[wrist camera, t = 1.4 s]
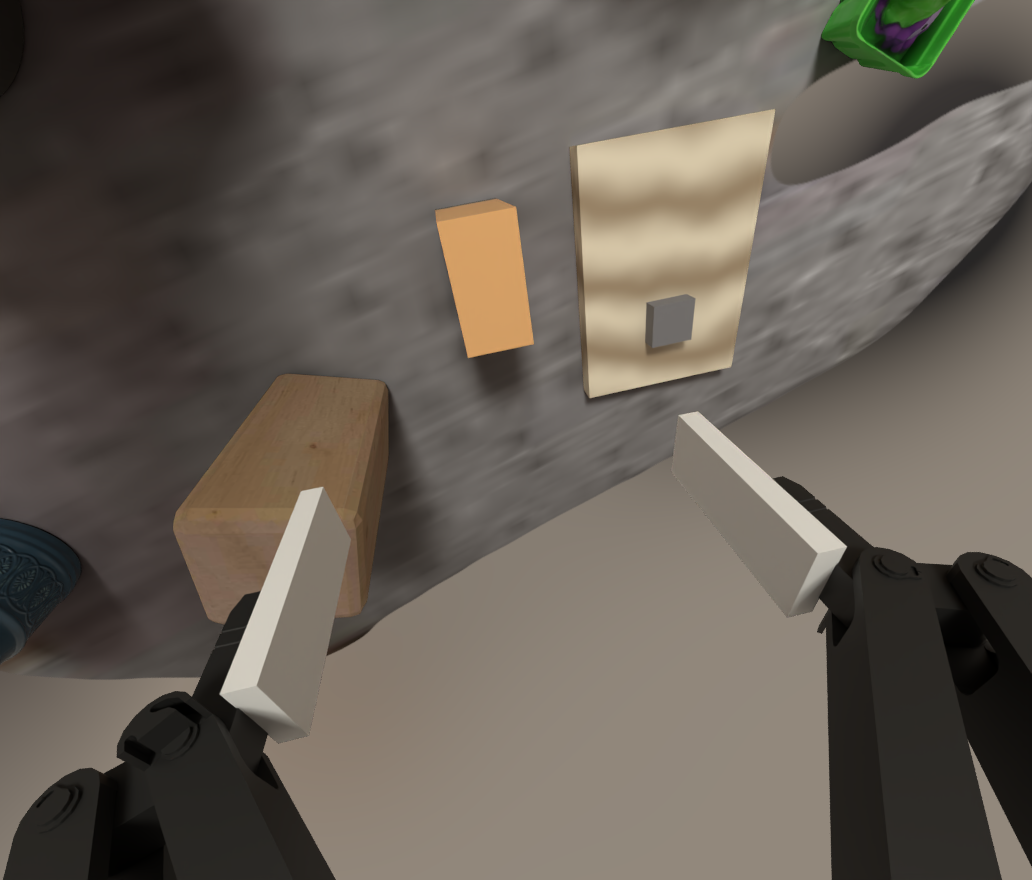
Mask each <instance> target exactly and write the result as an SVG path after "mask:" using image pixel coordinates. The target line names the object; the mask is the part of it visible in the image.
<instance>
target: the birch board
mask: <svg viewBox="0 0 1032 880" xmlns="http://www.w3.org/2000/svg"><path fill="white" fill-rule="evenodd" d="M774 114H775V109H773V110H768V111H762V112H757V113H751V114H746V115H740V116H735V117H729V118H724V119H719V120H713V121H708V122H702V123H697V124H691V125H686V126H681V127H675V128H670V129H664V130H659V131H653V132H648V133H642V134H637V135H632V136H626V137H621V138H615V139H610V140H604V141H599V142H594V143H588V144H583V145H577V146H572V147H569V148H570V164H571V181H572V198H573V215H574V232H575V249H576V265H577V282H578V299H579V316H580V333H581V350H582V366H583V383H584V391H585V392H586V394H587V395H588V396H589V398H593V397H597V396H602V395H606V394H611V393H615V392H620V391H624V390H629V389H633V388H638V387H643V386H647V385H652V384H656V383H661V382H665V381H670V380H674V379H679V378H683V377H688V376H692V375H697V374H701V373H706V372H710V371H715V370H719V369H724V368H728V367H731V365H732V359H733V353H734V347H735V341H736V336H737V330H738V324H739V318H740V312H741V306H742V301H743V295H744V289H745V283H746V277H747V272H748V266H749V260H750V254H751V248H752V242H753V237H754V231H755V225H756V219H757V213H758V208H759V202H760V196H761V190H762V184H763V178H764V173H765V167H766V161H767V155H768V149H769V144H770V138H771V132H772V126H773V120H774ZM684 294H688V295H690V296H692V297H694V298H696V299H695V309H694V318H693V328H692V337H691V340H687V341H682V342H678V343H673V344H669V345H664V346H659V347H655V348H652V347H650V346H649V345H648V344H647V343H645V330H646V302H651V301H656V300H660V299H665V298H670V297H675V296H679V295H684Z"/></svg>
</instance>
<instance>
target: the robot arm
mask: <svg viewBox="0 0 1032 880" xmlns="http://www.w3.org/2000/svg"><path fill="white" fill-rule="evenodd" d="M23 39H24V32H23V19H22V11H21V6H20V1H19V0H0V96H1V95H2V94H3V93H4V92H5V91H6V90H7V89H8V87H9V86H10V84H11V83H12V81H13V80H14V78H15V76H16V74H17V71H18V68H19V66H20V62H21V58H22V51H23ZM671 472H672V474H673V475H674V476H675V477H676V479H677V480H678V481H679V482H680V484H681V485H682V486H683V487H684V489H685V490H686V491H687V493H688V494H689V495H690V496H691V498H692V499H693V500H694V501H695V503H696V504H697V505H698V506H699V508H700V509H701V510H702V511H703V513H704V514H705V515H706V516H707V518H708V519H709V520H710V521H711V523H712V524H713V525H714V526H715V528H716V529H717V530H718V531H719V533H720V534H721V535H722V537H723V538H724V539H725V540H726V542H727V543H728V544H729V545H730V547H731V548H732V549H733V550H734V552H735V553H736V554H737V555H738V557H739V558H740V559H741V560H742V562H743V563H744V564H745V565H746V567H747V568H748V569H749V570H750V572H751V573H752V574H753V575H754V577H755V578H756V579H757V581H758V582H759V583H760V584H761V586H762V587H763V588H764V589H765V591H766V592H767V593H768V594H769V596H770V597H771V598H772V599H773V601H774V602H775V603H776V604H777V605H778V607H779V608H780V609H781V611H782V612H783V613H784V614H785V616H786V617H787V618H788V617H792V616H796V615H800V614H804V613H808V612H812V611H813V609H814V607H815V605H816V604H817V602H818V600H819V599H820V600H821V601H822V602H823V603H824V604H825V605H826V606H827V607H828V611H827V613H826V614H825V616H824V618H823V620H822V621H821V623H820V625H819V628H818V631H817V632H819V633H821V634H822V633H823V631H824V629H825V628H826V648H827V690H828V691H827V692H828V735H829V777H830V778H829V780H830V820H831V822H830V823H831V865H832V866H831V868H832V880H1002V878H1001V874H1000V870H999V866H998V862H997V858H996V854H995V850H994V846H993V842H992V838H991V834H990V829H989V825H988V821H987V817H986V813H985V809H984V805H983V801H982V797H981V793H980V789H979V785H978V780H977V776H976V772H975V768H974V764H973V760H972V756H971V752H970V748H969V744H968V741H969V743H970V745H971V747H972V749H973V751H974V753H975V755H976V757H977V759H978V761H979V763H980V765H981V767H982V769H983V771H984V773H985V775H986V777H987V779H988V781H989V783H990V785H991V787H992V789H993V790H994V792H995V795H996V797H997V799H998V800H999V802H1000V805H1001V806H1002V809H1003V810H1004V812H1005V814H1006V816H1007V818H1008V820H1009V822H1010V824H1011V826H1012V828H1013V830H1014V832H1015V834H1016V836H1017V838H1018V840H1019V842H1020V844H1021V846H1022V848H1023V850H1024V852H1025V854H1026V856H1027V858H1028V860H1029V862H1030V864H1031V866H1032V578H1031V577H1030V576H1029V575H1028V574H1027V573H1026V572H1025V571H1024V570H1022V569H1021V568H1019V567H1017V566H1016V565H1014V564H1012V563H1011V562H1009V561H1007V560H1004V559H1002V558H999V557H997V556H993V555H989V554H985V553H981V552H967V553H965V554H962V555H960V556H959V557H958V558H957V560H956V561H955V562H954V564H953V565H941V564H925V563H916V562H915V561H914V560H911V559H910V558H908V557H907V556H905V555H903V554H901V553H898V552H896V551H893V550H890V549H885V548H878V547H873V546H872V545H870V544H869V543H868V542H867V541H866V540H864V539H863V538H862V537H861V536H860V535H858V534H857V533H856V532H855V531H854V530H853V529H851V528H850V527H849V526H848V525H847V524H846V523H845V522H843V521H842V520H841V519H840V518H839V517H838V516H836V515H835V514H834V513H833V512H832V511H830V510H829V509H826V506H825V505H823V504H822V503H821V502H820V501H819V500H816V499H815V497H814V496H813V495H812V494H810V493H809V492H808V491H807V490H806V489H805V488H804V487H802V486H801V485H799V484H797V483H795V482H793V481H791V480H789V479H787V478H785V477H783V476H782V477H778V478H773V479H772V478H770V476H769V475H767V474H766V473H765V472H764V471H763V470H762V469H761V468H760V467H759V466H757V465H756V464H755V463H754V462H753V461H752V460H751V459H750V458H749V457H748V456H746V455H745V454H744V453H743V452H742V451H741V450H740V449H739V448H738V447H737V446H735V445H734V444H733V443H732V442H731V441H730V440H729V439H728V438H727V437H725V436H724V435H723V434H722V433H721V432H720V431H719V430H718V429H717V428H716V427H714V426H713V425H712V424H711V423H710V422H709V421H708V420H707V419H706V418H705V417H703V416H702V415H701V414H700V413H699V412H693V413H688V414H683V415H679V416H678V423H677V431H676V438H675V446H674V453H673V461H672V468H671ZM350 542H351V539H350V537H349V535H348V533H347V531H346V529H345V527H344V525H343V523H342V521H341V519H340V518H339V516H338V514H337V512H336V510H335V508H334V506H333V504H332V502H331V500H330V498H329V497H328V495H327V493H326V491H325V489H324V487H319V488H314V489H309V490H304V491H301V493H300V495H299V497H298V500H297V502H296V505H295V507H294V510H293V512H292V515H291V517H290V520H289V522H288V525H287V527H286V530H285V532H284V535H283V537H282V540H281V542H280V545H279V547H278V550H277V552H276V555H275V557H274V560H273V562H272V565H271V567H270V570H269V572H268V575H267V577H266V580H265V582H264V585H263V587H262V590H261V591H259V592H254V593H250V594H245V595H244V596H243V597H242V599H241V600H240V601H239V602H238V603H237V605H236V606H235V607H234V608H233V609H232V611H231V612H230V614H229V616H228V618H227V620H226V623H225V625H224V627H223V629H222V634H220V636H219V638H218V640H217V643H216V645H215V650H213V651H212V654H211V656H210V658H209V660H208V662H207V665H206V667H205V669H204V671H203V674H202V676H201V678H200V680H199V682H198V685H197V687H196V689H195V691H194V694H193V696H192V697H191V696H190V695H189V694H188V693H186V692H179V691H175V692H172V693H168V694H165V695H162V696H161V697H159V698H157V699H156V700H154V701H153V702H151V703H150V704H148V705H147V706H146V707H145V708H144V709H142V710H141V711H140V712H139V713H138V714H137V715H136V716H135V717H134V718H133V719H132V721H131V722H130V723H129V725H128V726H127V727H126V729H125V730H124V731H123V734H122V736H121V738H120V740H119V742H118V745H117V758H119V759H121V760H123V761H125V762H124V763H122V764H120V765H119V766H117V767H115V768H113V769H111V770H109V771H107V772H106V773H104V774H103V773H101V772H99V771H97V770H95V769H93V768H85V769H79V770H77V771H74V772H72V773H70V774H68V775H66V776H64V777H63V778H61V779H60V780H59V781H57V782H56V783H55V784H53V785H52V786H51V787H49V788H48V789H47V790H46V791H45V792H44V793H43V794H42V795H41V796H40V797H39V798H38V799H37V800H36V801H35V802H34V803H33V805H32V806H31V807H30V809H29V810H28V811H27V813H26V814H25V816H24V817H23V819H22V820H21V822H20V824H19V827H18V829H17V831H16V833H15V836H14V838H13V842H12V846H11V850H10V854H9V858H8V862H7V866H6V870H5V874H4V878H3V880H336V879H335V877H334V876H333V874H332V872H331V870H330V868H329V867H328V865H327V863H326V861H325V859H324V858H323V856H322V854H321V852H320V851H319V849H318V847H317V845H316V843H315V841H314V839H313V838H312V836H311V834H310V832H309V830H308V829H307V827H306V825H305V823H304V822H303V820H302V818H301V816H300V814H299V812H298V810H297V809H296V807H295V805H294V803H293V802H292V800H291V798H290V796H289V794H288V792H287V790H286V789H285V787H284V785H283V783H282V781H281V780H280V778H279V776H278V774H277V772H276V771H275V769H274V767H273V765H272V763H271V762H270V760H269V758H268V756H267V755H266V754H265V753H263V749H264V745H265V742H266V738H267V735H269V736H270V737H271V738H272V739H273V740H275V741H276V742H277V743H283V742H287V741H291V740H294V739H299V738H302V737H307V736H309V734H310V728H311V725H312V720H313V715H314V710H315V706H316V701H317V696H318V692H319V687H320V683H321V678H322V673H323V668H324V664H325V659H326V654H327V650H328V645H329V640H330V636H331V631H332V626H333V622H334V617H335V612H336V608H337V603H338V598H339V594H340V589H341V584H342V579H343V575H344V570H345V565H346V561H347V556H348V551H349V547H350Z"/></svg>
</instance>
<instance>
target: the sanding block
mask: <svg viewBox="0 0 1032 880" xmlns="http://www.w3.org/2000/svg"><path fill="white" fill-rule="evenodd" d="M435 212H436V222H437V227H438V231H439V235H440V239H441V244H442V248H443V252H444V257H445V261H446V265H447V269H448V274H449V278H450V282H451V287H452V291H453V295H454V299H455V304H456V308H457V312H458V316H459V321H460V325H461V329H462V334H463V338H464V342H465V346H466V351H467V355H468V358H470V357H475V356H480V355H484V354H489V353H494V352H499V351H503V350H508V349H513V348H517V347H522V346H527V345H532V344H534V342H533V334H532V326H531V319H530V311H529V303H528V296H527V288H526V280H525V273H524V265H523V257H522V250H521V242H520V234H519V227H518V219H517V211H516V207H515V206H512V205H510V204H508V203H505V202H503V201H501V200H498V199H496V198H493V199H488V200H483V201H478V202H472V203H467V204H462V205H456V206H451V207H446V208H441V209H435Z"/></svg>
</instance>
